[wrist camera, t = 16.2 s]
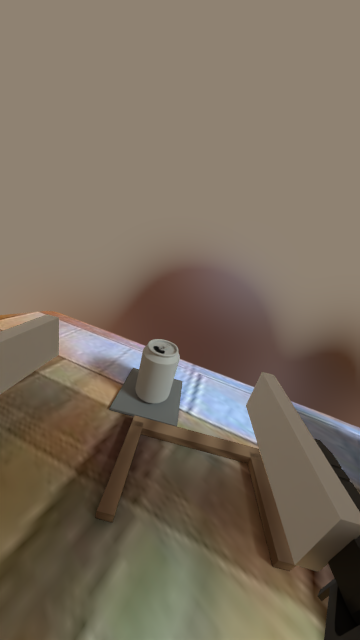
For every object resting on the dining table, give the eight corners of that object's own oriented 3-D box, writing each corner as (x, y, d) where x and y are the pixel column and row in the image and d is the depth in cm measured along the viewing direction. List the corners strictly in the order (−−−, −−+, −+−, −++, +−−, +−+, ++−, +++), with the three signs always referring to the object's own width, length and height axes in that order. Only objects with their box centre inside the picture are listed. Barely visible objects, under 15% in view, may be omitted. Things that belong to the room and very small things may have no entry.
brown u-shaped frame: (255, 454, 33) (258, 448, 32) (289, 571, 21) (295, 565, 20) (133, 421, 33) (134, 415, 32) (95, 518, 21) (96, 510, 20)
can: (128, 387, 39) (137, 339, 35) (155, 377, 45) (165, 334, 41) (147, 412, 35) (160, 360, 31) (175, 397, 40) (189, 351, 36)
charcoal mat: (181, 382, 46) (182, 381, 46) (176, 427, 34) (176, 426, 34) (132, 369, 46) (133, 367, 46) (109, 409, 34) (109, 407, 34)
